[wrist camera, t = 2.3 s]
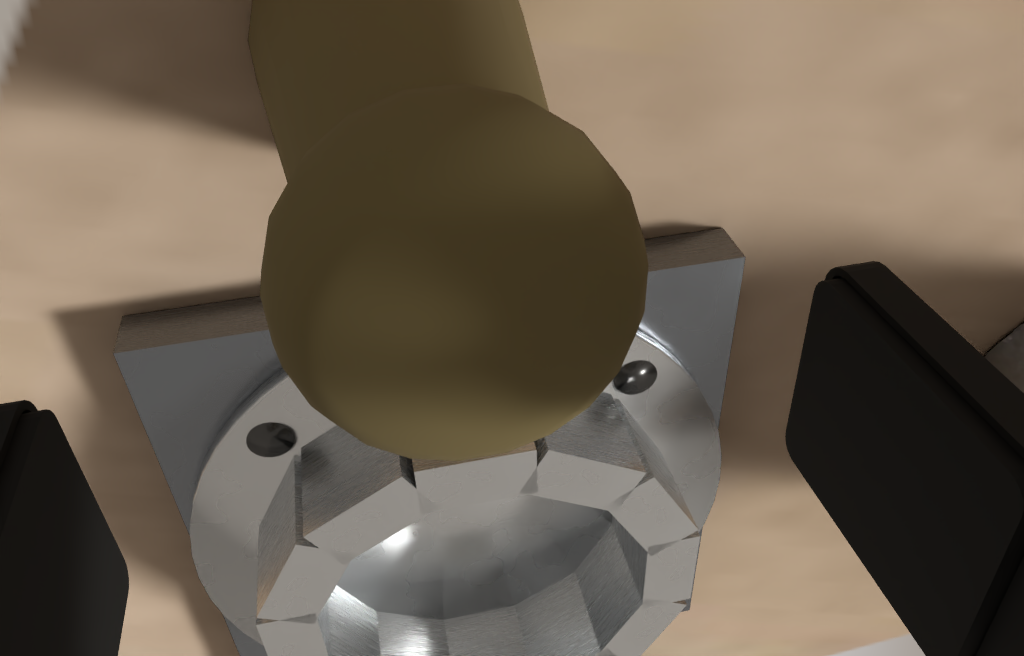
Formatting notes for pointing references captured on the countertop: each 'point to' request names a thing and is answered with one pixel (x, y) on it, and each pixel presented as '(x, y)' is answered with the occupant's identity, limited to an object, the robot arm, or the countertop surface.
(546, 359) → the olive knobbed peg
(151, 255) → the countertop surface
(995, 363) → the pillar candle
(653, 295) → the rosette plate
